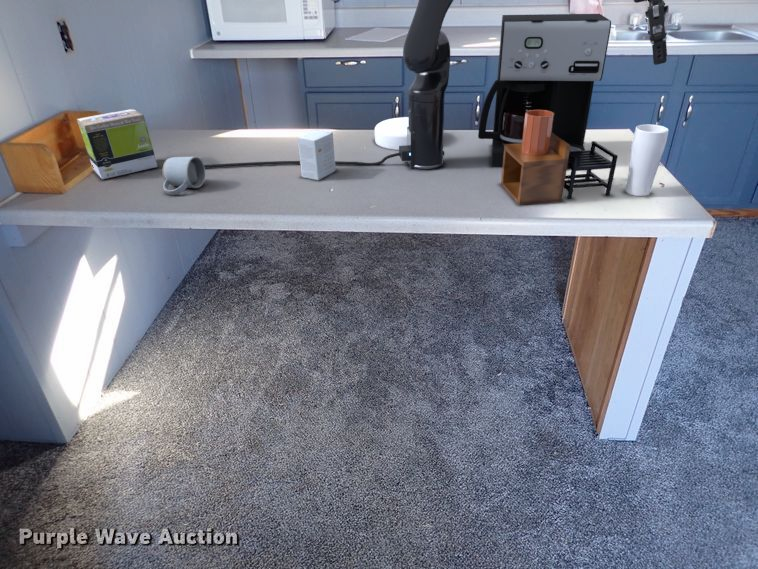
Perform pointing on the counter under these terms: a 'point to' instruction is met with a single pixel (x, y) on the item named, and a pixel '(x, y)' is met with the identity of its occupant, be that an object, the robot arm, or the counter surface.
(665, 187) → the counter surface
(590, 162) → the rack
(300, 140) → the small box
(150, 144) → the tea box
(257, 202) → the counter surface
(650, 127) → the drinking glass
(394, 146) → the container
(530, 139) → the cup
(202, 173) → the ceramic mug
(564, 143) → the wooden open box
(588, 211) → the counter surface
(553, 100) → the coffee maker
